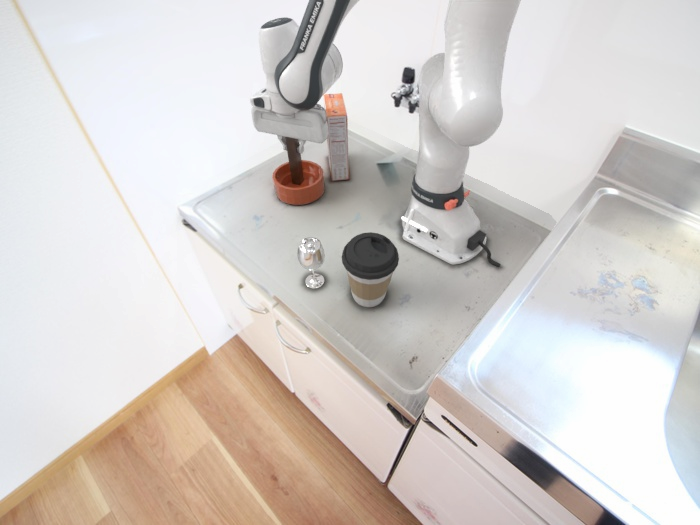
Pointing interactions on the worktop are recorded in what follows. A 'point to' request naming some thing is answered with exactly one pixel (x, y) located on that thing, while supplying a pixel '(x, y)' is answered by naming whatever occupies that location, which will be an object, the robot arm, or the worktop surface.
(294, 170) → the stick
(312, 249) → the wineglass
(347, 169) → the cracker box
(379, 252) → the coffee cup
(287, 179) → the bowl
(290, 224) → the worktop surface
